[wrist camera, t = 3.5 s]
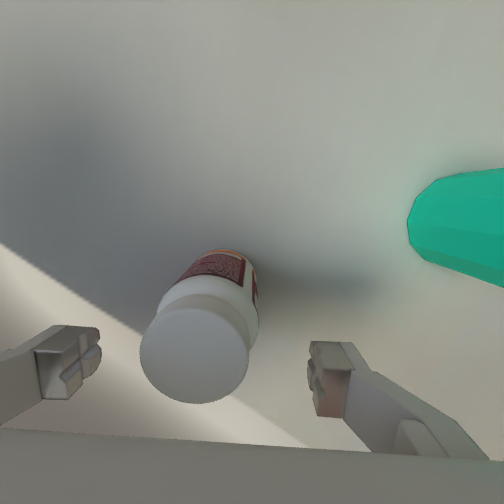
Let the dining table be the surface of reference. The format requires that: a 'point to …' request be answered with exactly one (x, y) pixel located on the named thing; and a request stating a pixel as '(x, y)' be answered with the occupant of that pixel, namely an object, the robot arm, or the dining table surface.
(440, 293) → the dining table surface
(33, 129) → the dining table surface
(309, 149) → the dining table surface
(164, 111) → the dining table surface
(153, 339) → the pill bottle
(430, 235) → the candle
